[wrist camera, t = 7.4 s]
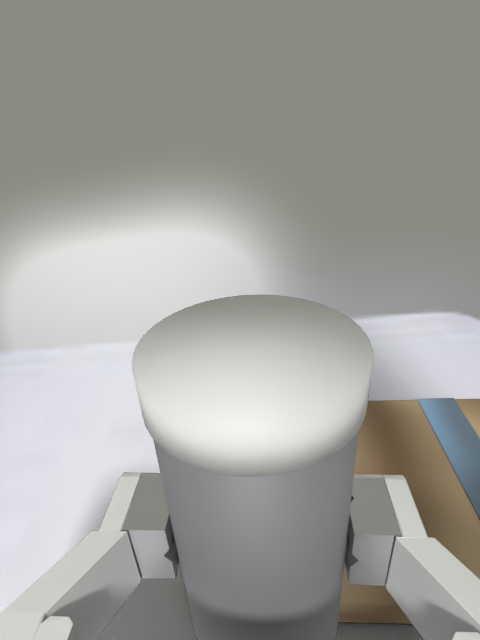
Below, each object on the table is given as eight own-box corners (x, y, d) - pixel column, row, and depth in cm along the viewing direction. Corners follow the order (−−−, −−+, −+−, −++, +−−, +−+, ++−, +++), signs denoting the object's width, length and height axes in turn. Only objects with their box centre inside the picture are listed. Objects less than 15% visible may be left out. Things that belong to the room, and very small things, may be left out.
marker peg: (187, 738, 11) (93, 424, 6) (207, 575, 14) (162, 297, 9) (348, 748, 10) (406, 424, 5) (326, 579, 14) (348, 292, 9)
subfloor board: (192, 617, 18) (187, 598, 17) (221, 419, 29) (219, 403, 29) (676, 631, 16) (694, 609, 16) (506, 415, 28) (512, 396, 27)
